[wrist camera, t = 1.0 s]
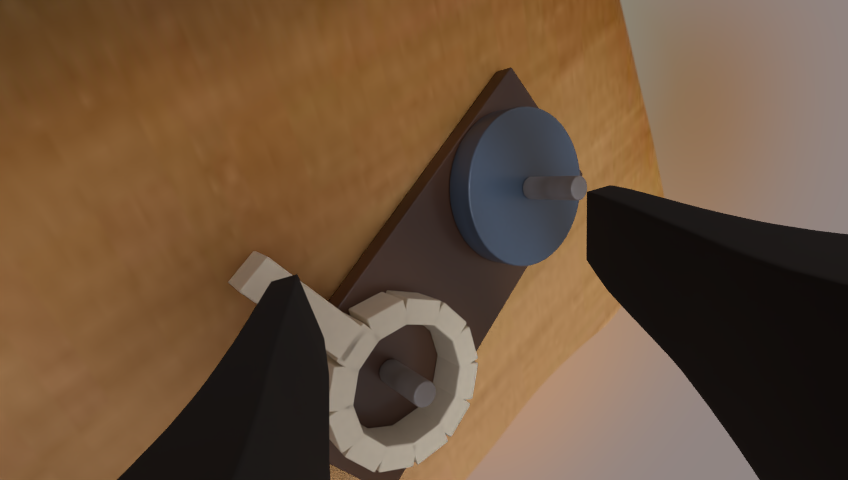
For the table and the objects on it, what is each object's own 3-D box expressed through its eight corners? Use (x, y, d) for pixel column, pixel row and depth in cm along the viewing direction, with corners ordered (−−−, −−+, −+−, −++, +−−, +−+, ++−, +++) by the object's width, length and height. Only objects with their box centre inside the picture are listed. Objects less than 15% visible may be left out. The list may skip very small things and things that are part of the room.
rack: (379, 482, 24) (446, 557, 20) (245, 413, 20) (288, 487, 15) (568, 174, 31) (655, 172, 26) (496, 70, 26) (585, 44, 21)
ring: (396, 474, 24) (417, 495, 22) (170, 351, 17) (176, 369, 16) (476, 342, 26) (501, 352, 24) (303, 190, 19) (320, 190, 18)
